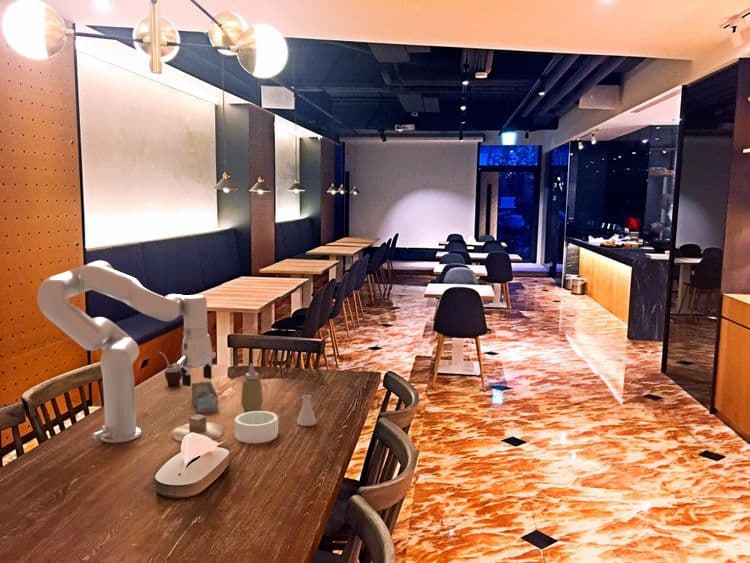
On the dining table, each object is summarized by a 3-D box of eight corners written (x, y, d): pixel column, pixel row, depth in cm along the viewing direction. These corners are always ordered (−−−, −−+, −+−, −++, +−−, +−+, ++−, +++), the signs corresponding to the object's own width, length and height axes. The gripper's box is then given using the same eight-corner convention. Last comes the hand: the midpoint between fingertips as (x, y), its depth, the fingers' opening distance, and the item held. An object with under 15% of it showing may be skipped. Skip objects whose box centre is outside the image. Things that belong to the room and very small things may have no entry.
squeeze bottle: (265, 407, 238) (265, 361, 235) (259, 414, 230) (259, 367, 227) (244, 406, 238) (244, 361, 236) (238, 413, 230) (237, 366, 228)
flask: (313, 427, 218) (313, 400, 217) (293, 425, 219) (293, 398, 218) (319, 420, 225) (319, 394, 224) (300, 418, 226) (300, 392, 225)
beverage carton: (196, 413, 231) (196, 396, 230) (191, 398, 248) (190, 382, 247) (218, 411, 233) (218, 394, 233) (211, 396, 251) (211, 380, 250)
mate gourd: (186, 384, 265) (185, 350, 263) (171, 389, 258) (170, 354, 256) (174, 381, 269) (173, 347, 267) (159, 386, 262) (158, 351, 260)
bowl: (259, 446, 201) (259, 428, 200) (226, 437, 208) (226, 420, 207) (285, 432, 213) (285, 415, 212) (253, 424, 220) (253, 408, 219)
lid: (198, 448, 200) (198, 429, 199) (160, 437, 208) (160, 420, 207) (234, 431, 214) (233, 414, 214) (197, 422, 222) (197, 405, 222)
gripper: (184, 338, 197) (186, 390, 199) (222, 328, 212) (223, 377, 214) (167, 335, 201) (169, 386, 203) (206, 326, 216) (207, 374, 218)
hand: (197, 381), depth 209 cm, fingers open, 9 cm apart
